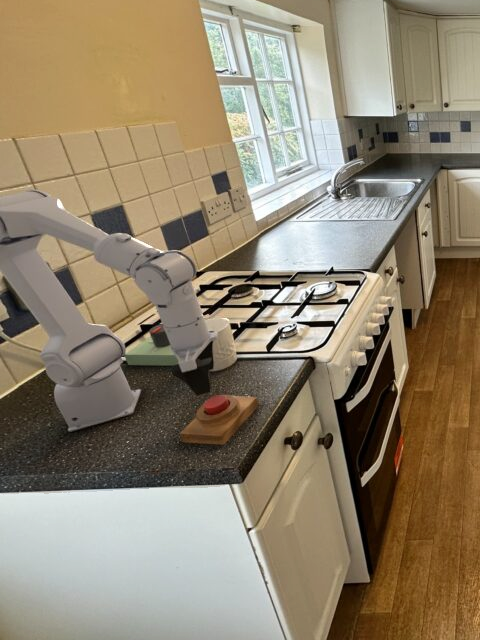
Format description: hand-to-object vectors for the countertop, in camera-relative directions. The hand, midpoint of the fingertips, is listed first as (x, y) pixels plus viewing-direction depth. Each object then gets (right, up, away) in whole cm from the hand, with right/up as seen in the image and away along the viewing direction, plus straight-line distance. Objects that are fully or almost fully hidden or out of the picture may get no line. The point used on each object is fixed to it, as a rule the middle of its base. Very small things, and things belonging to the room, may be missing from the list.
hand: (205, 380), depth 78 cm
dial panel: (-25, 0, +22) cm, 34 cm away
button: (+2, -5, 0) cm, 6 cm away
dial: (-25, +3, +21) cm, 33 cm away
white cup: (-10, -2, +19) cm, 21 cm away
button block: (+2, -9, +1) cm, 9 cm away
